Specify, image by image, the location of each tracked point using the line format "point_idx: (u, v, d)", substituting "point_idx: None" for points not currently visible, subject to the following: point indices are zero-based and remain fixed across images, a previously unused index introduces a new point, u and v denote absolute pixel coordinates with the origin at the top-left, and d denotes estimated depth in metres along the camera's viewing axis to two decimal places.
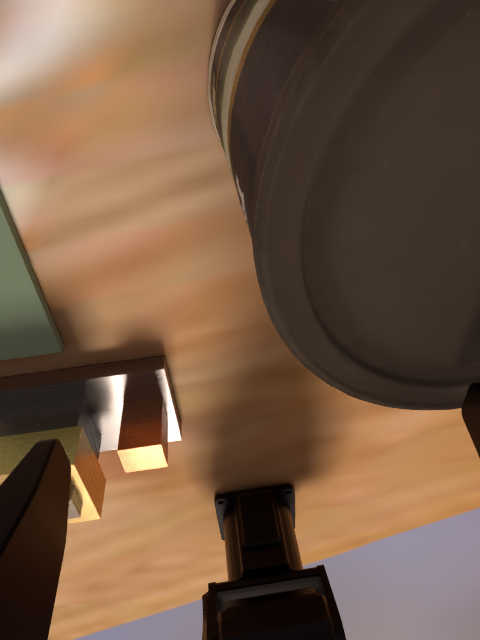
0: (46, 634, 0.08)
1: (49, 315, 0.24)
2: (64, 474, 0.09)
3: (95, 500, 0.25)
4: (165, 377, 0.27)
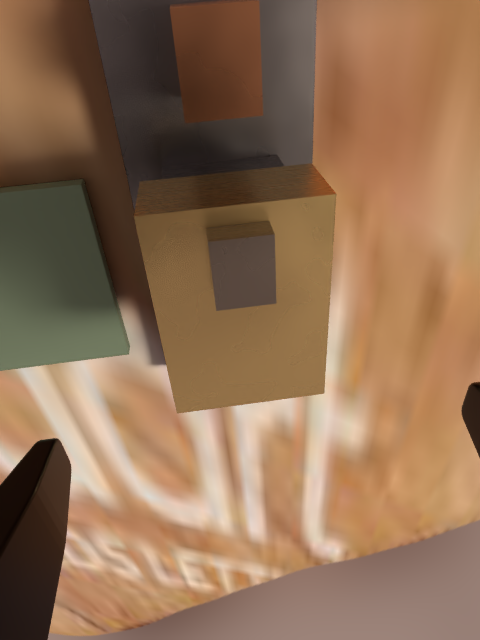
0: (46, 634, 0.08)
1: (17, 187, 0.16)
2: (64, 474, 0.09)
3: (281, 194, 0.11)
4: None
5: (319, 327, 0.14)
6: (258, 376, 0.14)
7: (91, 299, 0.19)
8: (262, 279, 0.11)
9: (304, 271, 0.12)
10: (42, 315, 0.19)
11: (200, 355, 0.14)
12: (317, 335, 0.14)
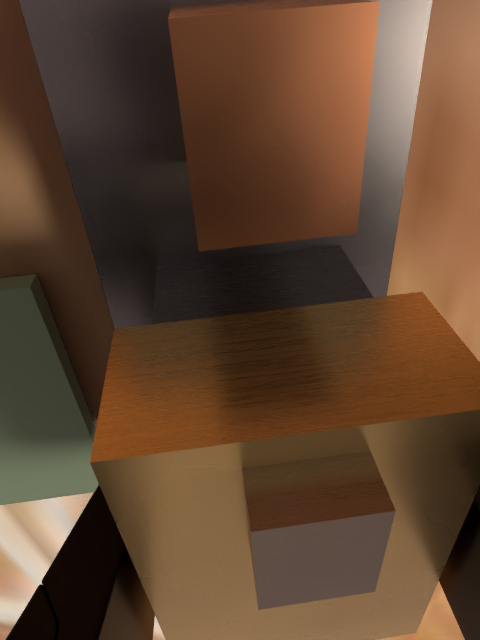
0: (153, 618, 0.08)
1: None
2: None
3: (396, 398, 0.06)
4: None
5: (428, 571, 0.08)
6: (314, 627, 0.09)
7: (56, 431, 0.13)
8: (355, 567, 0.06)
9: (421, 511, 0.07)
10: None
11: (221, 615, 0.08)
12: (422, 579, 0.08)
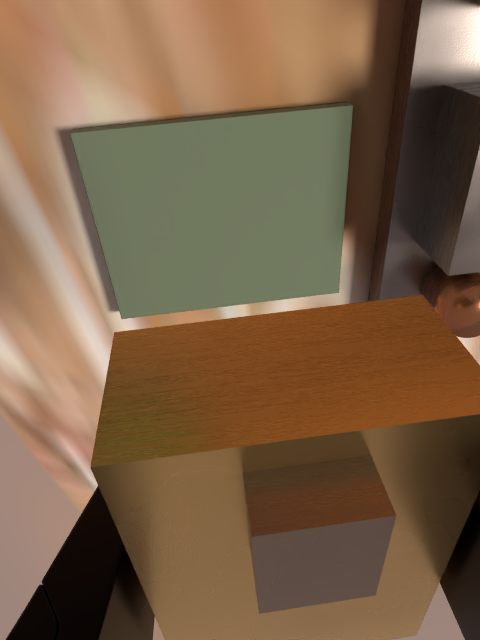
0: (153, 618, 0.08)
1: (286, 109, 0.16)
2: None
3: (395, 403, 0.06)
4: None
5: (429, 573, 0.08)
6: (315, 629, 0.09)
7: (323, 232, 0.19)
8: (355, 571, 0.06)
9: (421, 515, 0.07)
10: (272, 247, 0.19)
11: (221, 618, 0.08)
12: (423, 582, 0.08)
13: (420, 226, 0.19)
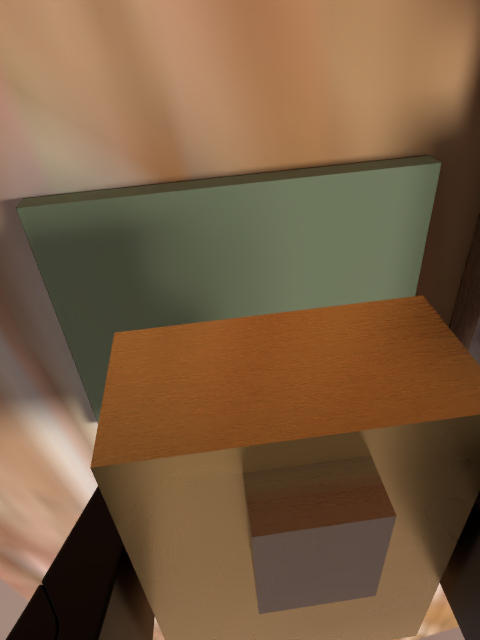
0: (153, 618, 0.08)
1: (341, 168, 0.11)
2: None
3: (396, 403, 0.06)
4: None
5: (429, 574, 0.08)
6: (315, 630, 0.09)
7: None
8: (356, 572, 0.06)
9: (422, 515, 0.07)
10: None
11: (222, 618, 0.08)
12: (423, 582, 0.08)
13: None
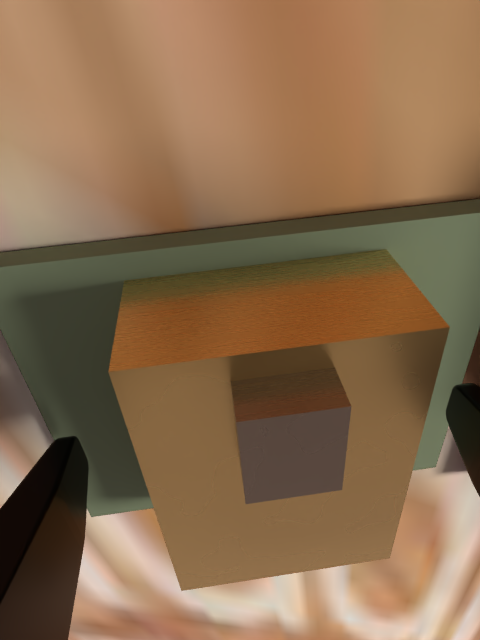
0: (67, 631, 0.08)
1: (389, 214, 0.09)
2: (82, 472, 0.09)
3: (355, 325, 0.07)
4: None
5: (394, 490, 0.09)
6: (299, 546, 0.10)
7: None
8: (323, 463, 0.07)
9: (382, 428, 0.08)
10: None
11: (216, 530, 0.09)
12: (390, 499, 0.09)
13: None
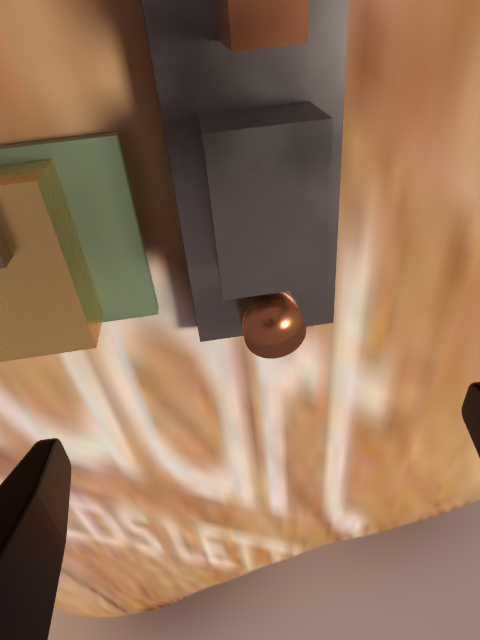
0: (46, 634, 0.08)
1: (53, 140, 0.17)
2: (64, 474, 0.09)
3: None
4: None
5: (68, 290, 0.17)
6: (31, 332, 0.18)
7: (123, 256, 0.19)
8: None
9: (35, 243, 0.16)
10: None
11: None
12: (69, 296, 0.17)
13: (214, 249, 0.19)
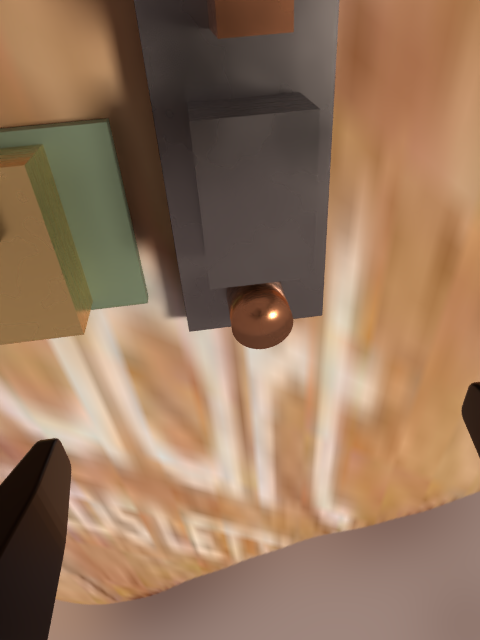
0: (46, 635, 0.08)
1: (44, 125, 0.17)
2: (64, 474, 0.09)
3: None
4: None
5: (56, 275, 0.17)
6: (19, 317, 0.18)
7: (113, 244, 0.19)
8: None
9: (23, 228, 0.16)
10: None
11: None
12: (57, 282, 0.17)
13: (204, 239, 0.19)
